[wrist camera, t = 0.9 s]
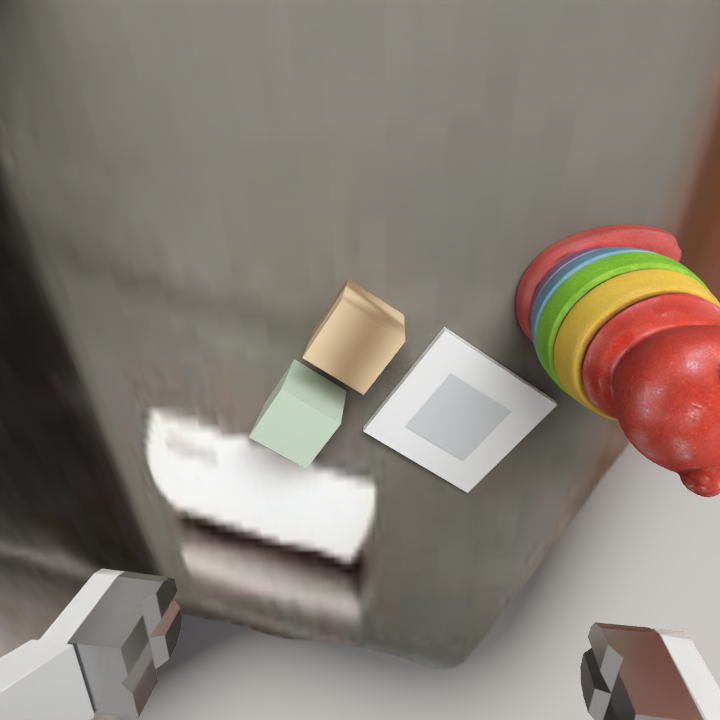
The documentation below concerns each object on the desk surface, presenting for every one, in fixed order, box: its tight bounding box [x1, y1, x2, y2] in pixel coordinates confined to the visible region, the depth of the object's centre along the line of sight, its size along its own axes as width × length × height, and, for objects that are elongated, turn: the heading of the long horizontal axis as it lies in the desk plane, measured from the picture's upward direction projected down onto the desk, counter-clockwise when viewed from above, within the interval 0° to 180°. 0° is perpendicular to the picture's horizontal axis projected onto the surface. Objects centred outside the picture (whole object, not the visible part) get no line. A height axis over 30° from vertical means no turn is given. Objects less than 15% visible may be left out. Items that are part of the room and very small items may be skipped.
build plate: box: [363, 327, 557, 493], centre depth 38 cm, size 11×11×1 cm
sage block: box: [249, 359, 347, 469], centre depth 37 cm, size 5×5×5 cm
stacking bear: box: [516, 225, 720, 497], centre depth 26 cm, size 11×10×18 cm
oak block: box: [303, 279, 406, 395], centre depth 34 cm, size 5×5×5 cm
